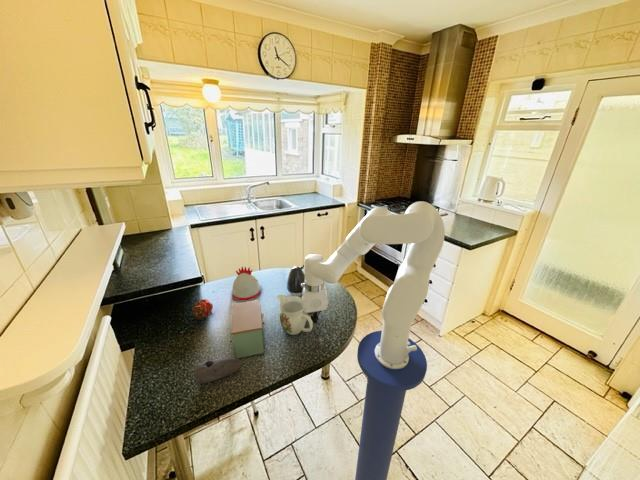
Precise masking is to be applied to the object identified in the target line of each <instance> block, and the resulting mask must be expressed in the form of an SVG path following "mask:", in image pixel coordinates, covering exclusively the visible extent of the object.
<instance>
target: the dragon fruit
mask: <svg viewBox="0 0 640 480" xmlns="http://www.w3.org/2000/svg"><path fill="white" fill-rule="evenodd" d="M213 306H214V305H213V303H212V302H211V301H209V300H208V299H206V298H205V299H203V298H202V299H200V300H199V301H196V302H195V303H194V305H193V307H191V312H192V313H191V317H192V318H195V320H202V321H204V320H206V319H207V317H209V316H211V315H212V314H213V312H212V310H213Z"/></svg>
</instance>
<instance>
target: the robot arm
mask: <svg viewBox="0 0 640 480" xmlns="http://www.w3.org/2000/svg"><path fill="white" fill-rule="evenodd" d="M442 217H443V216H442V215H441V214H440V212H439V211H438V209H437V208H436V207H435V206H434V205H433V204H431V203H429V202H427V201H423V200H422V201H421V200H420V201H419V200H418V201H415V202H413V203H412V204H410V205H409V206H408V207H407V208H406V209H405V211H404V213H399V214H397V213H396V214H393V213H392V212H391V211H390V210H389V208H386V207H385V206H384V207H383V206H376V207H374V208H372V209H370V210H369V211H368V212H367V214H366V215H364V216H363V218H362V219H361V220H360V221H359V222H358V223H357V224H356V226H355V227H354V228H353V229H352V230H351V231H350V233H348V235H347V236H346V237H345V240H344V241H343V242H342V243H341V244H340V245H339V247H338V248H337V249H336V250H335V251H334V252H333V253H332V254H331V255H330V257H329V258H328V259H327V260H326V261H325V258H324V256H323V255H321V254H318V253H311V254H307V256H305V258H304V262H303V263H304V264H303V265H304V275H305V280H304V283H303V284H301V287H303V292H302V295H301V298H302V309H303V308H304V309H303V311H304V312H305V313H306V314H307V315H310V318H311V320H312V323H313V325H314V324H318V321H319V316H320V314H321V312H323V311H325V310H326V311H327V310H328V307H329V300H328V291H327V287H326V285H325V283H327V284H330V285H333V284H335V283H338V282H339V281H340V279H341V277H342V276H343V275H344V273H345V271H346V270H347V268H349V266H350V265H351V264H352V263H353V262H354V261H355V260H356V259H357V258H358V257H359V256H363V255H364V256H365V255H366V254H367V253H369V251H370V250H371V249H372V248H373V247H374V246H375V245H405V244H407V245H409V244H410V245H409V248H408V250H407V252H406V254H405V257H404V259H403V261H402V262H401V264H400V266H399V267H398V269H397V272H396V275H395V278H394V280H393V283H392V284H391V286H390V287H388V290H387V292H386V295H385V299H384V302H383V304H382V308H381V317H382V327H381V331H382V333H381V340H380V343H379V344H377V346H376V348H375V357H376V359H377V360H378V361H379V362H380V363H381V364H382V365H383V366H385V367H387V368H390V369H401V368H404V367H405V366H406V365H407V364H408V361H409V355H408V353H410V351H416V350H417V347H416V345H413V346H409V347H408V345H410V342H408V338H409V339H410V333H411V328H412V323H413V322H414V321H415V318H416V317H417V315H418V313H419V311H420V310H421V308H422V306H423V304H424V303H425V300H426V298H427V296H428V292H429V286H430V276H431V273H432V271H433V268H434V266H435V264H436V262H437V260H438V257H440V254H441V251H442V248H443V247H444V242H445V233H446V232H445V231H446V230H445V224H444V219H443V218H442ZM302 309H301V310H302Z"/></svg>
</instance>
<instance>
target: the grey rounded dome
mask: <svg viewBox="0 0 640 480" xmlns="http://www.w3.org/2000/svg"><path fill="white" fill-rule="evenodd" d="M252 272H253V268H252V269H251V268H250V267H248V268H247V267H246V266H244V267H243V266H241V268H238V270H235V273H236V275H237V276H236V277H235V279H234V280H233V284H232V290H231V293H232V297H233V298H234V299H235V300H236V301H241V302H248V301H252V300H253V299H255V298H257V297H258V296H259V295H260V294H261V291H262V290H261V284H260V281H259V280H258V278H257V277H256V276H255V274H253V273H252Z"/></svg>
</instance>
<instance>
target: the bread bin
mask: <svg viewBox="0 0 640 480" xmlns="http://www.w3.org/2000/svg"><path fill="white" fill-rule="evenodd" d="M231 311H232V312H231V326H230V335H231V336H232V341H233V347H234V353H235V358H236V359H241V358H246V357H250V356H255V355H260V354H264V353H265V349H264V348H265V347H266V346H265V344H266V343H265V334H264V324H265V316H264V315H265V314H264V313H263V312H262V304H261V300H260V299H255V300H247V301H241V302H235V303H232V310H231Z"/></svg>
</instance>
